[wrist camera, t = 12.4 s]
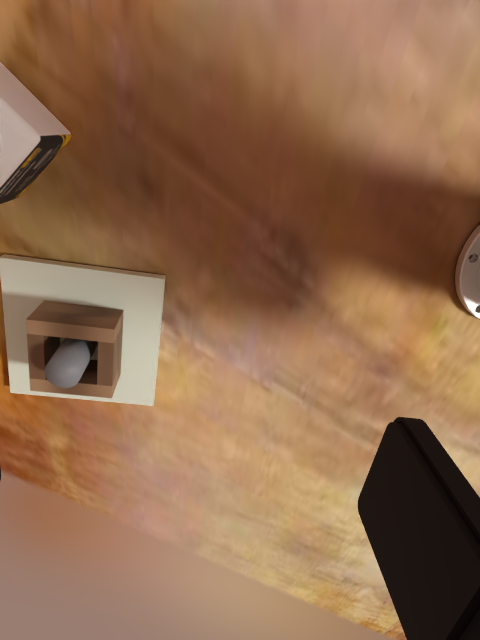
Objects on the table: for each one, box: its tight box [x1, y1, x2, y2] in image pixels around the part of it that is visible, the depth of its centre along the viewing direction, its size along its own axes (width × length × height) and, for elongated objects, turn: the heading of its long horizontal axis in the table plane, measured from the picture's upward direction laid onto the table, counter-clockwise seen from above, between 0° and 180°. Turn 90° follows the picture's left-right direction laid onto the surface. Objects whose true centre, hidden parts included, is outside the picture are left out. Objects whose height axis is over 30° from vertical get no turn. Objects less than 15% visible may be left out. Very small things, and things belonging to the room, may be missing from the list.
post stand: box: [0, 254, 166, 406], centre depth 36 cm, size 14×14×7 cm
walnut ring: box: [26, 300, 124, 398], centre depth 37 cm, size 7×7×4 cm
